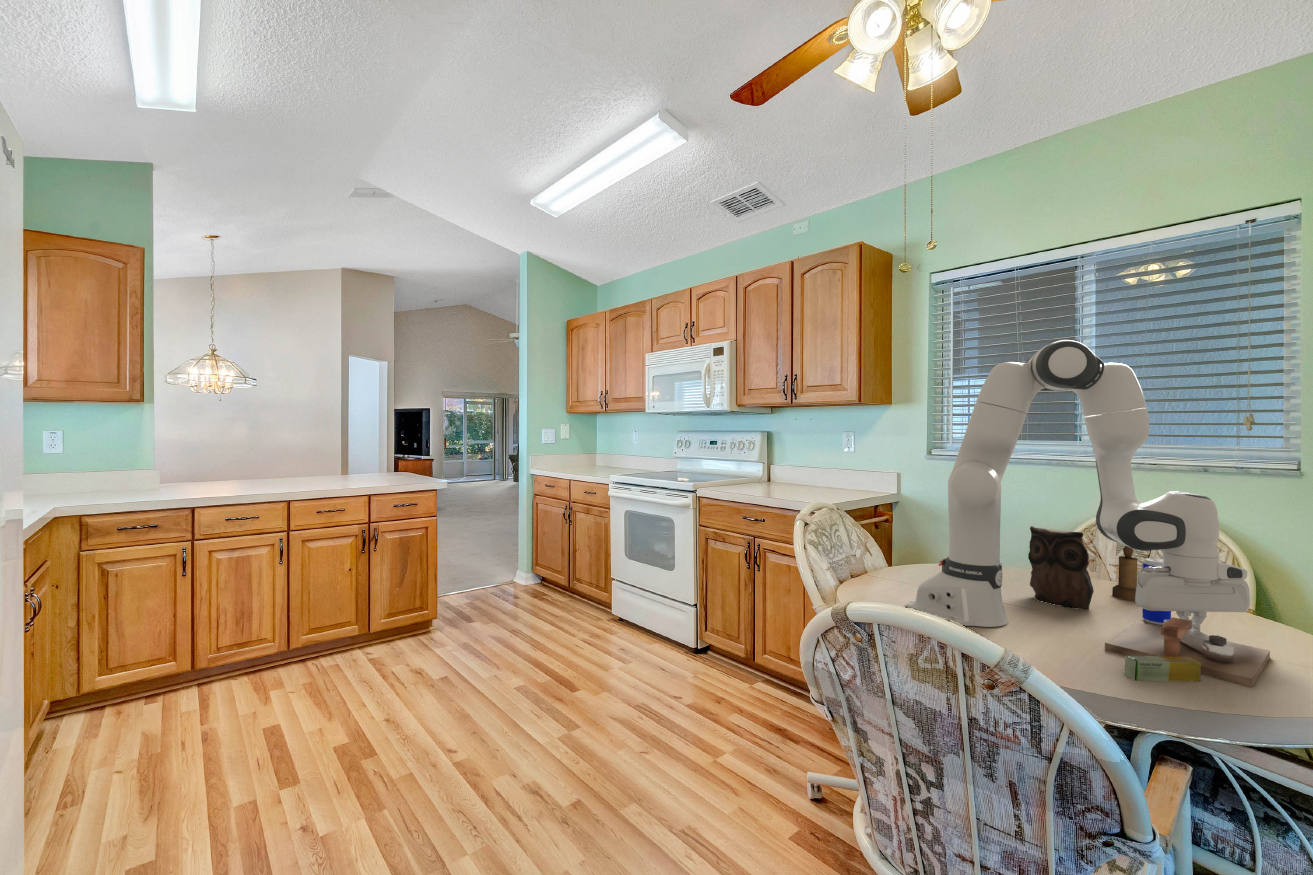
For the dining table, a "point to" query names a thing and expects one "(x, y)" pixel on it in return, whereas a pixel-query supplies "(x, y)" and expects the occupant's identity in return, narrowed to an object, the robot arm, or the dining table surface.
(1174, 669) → the medication box
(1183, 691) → the dining table surface
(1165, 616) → the beverage can
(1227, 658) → the steel link
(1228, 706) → the dining table surface
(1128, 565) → the brown wooden upright piece
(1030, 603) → the dining table surface
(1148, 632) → the walnut base plate
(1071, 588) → the owl
